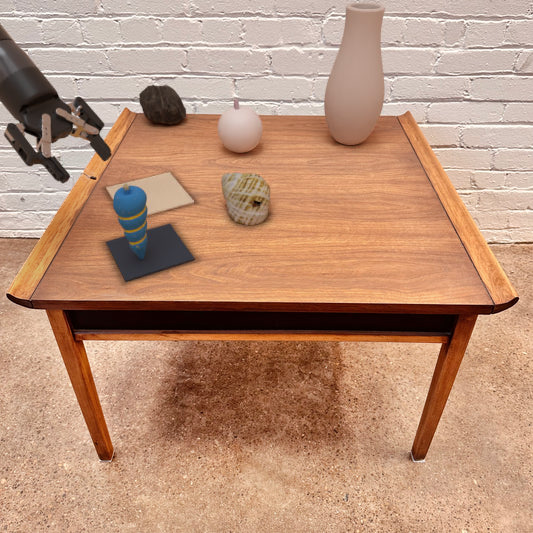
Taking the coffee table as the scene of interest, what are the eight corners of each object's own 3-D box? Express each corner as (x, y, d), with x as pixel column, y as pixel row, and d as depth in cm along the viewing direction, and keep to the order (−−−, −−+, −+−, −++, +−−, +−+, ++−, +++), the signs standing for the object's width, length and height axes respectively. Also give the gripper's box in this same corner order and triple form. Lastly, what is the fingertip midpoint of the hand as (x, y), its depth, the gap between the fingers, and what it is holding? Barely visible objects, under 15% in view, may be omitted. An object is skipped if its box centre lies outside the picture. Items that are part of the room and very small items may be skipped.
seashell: (265, 227, 88) (240, 180, 84) (226, 235, 94) (201, 191, 89) (287, 199, 95) (265, 154, 90) (249, 207, 101) (227, 165, 96)
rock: (189, 124, 124) (179, 84, 118) (146, 133, 123) (134, 94, 117) (187, 113, 132) (177, 76, 126) (146, 122, 131) (135, 84, 126)
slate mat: (125, 282, 77) (125, 280, 77) (106, 243, 85) (105, 241, 85) (194, 260, 82) (194, 258, 81) (170, 225, 90) (169, 223, 90)
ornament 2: (211, 147, 115) (207, 98, 108) (246, 137, 120) (245, 89, 112) (234, 164, 109) (233, 112, 101) (270, 152, 114) (271, 102, 106)
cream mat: (125, 221, 90) (125, 220, 90) (106, 188, 100) (105, 187, 100) (194, 203, 96) (194, 201, 96) (169, 173, 105) (169, 171, 105)
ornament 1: (160, 251, 83) (147, 173, 73) (152, 270, 79) (137, 190, 69) (131, 249, 83) (114, 171, 74) (121, 267, 79) (102, 188, 70)
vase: (374, 130, 124) (395, 0, 105) (378, 154, 113) (402, 14, 94) (321, 127, 125) (332, -2, 106) (320, 151, 114) (332, 11, 95)
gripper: (-22, 79, 65) (59, 177, 67) (61, 53, 74) (130, 140, 77) (-32, 110, 70) (44, 199, 73) (48, 82, 80) (112, 162, 82)
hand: (88, 168), depth 75 cm, fingers open, 8 cm apart
